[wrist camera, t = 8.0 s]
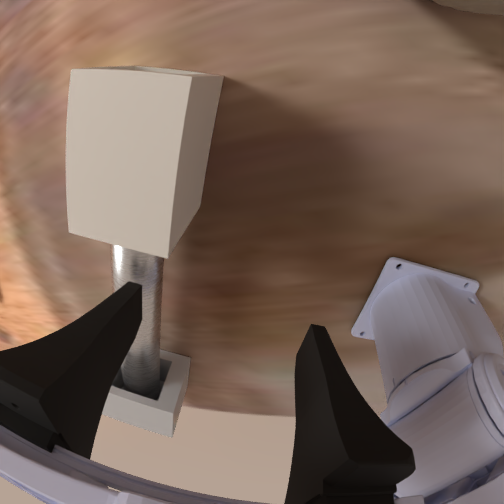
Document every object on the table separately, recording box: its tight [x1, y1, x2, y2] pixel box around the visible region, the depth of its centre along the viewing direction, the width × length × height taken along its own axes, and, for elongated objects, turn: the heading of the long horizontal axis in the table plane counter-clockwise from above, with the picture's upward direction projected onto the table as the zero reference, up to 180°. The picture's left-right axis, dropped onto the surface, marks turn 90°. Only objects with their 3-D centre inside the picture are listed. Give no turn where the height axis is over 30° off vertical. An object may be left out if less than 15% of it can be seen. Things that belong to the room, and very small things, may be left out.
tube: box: [111, 244, 164, 400], centre depth 23 cm, size 4×22×4 cm, turn 168°
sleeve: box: [66, 66, 224, 259], centre depth 17 cm, size 6×9×7 cm
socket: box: [102, 349, 191, 437], centre depth 29 cm, size 8×6×7 cm
